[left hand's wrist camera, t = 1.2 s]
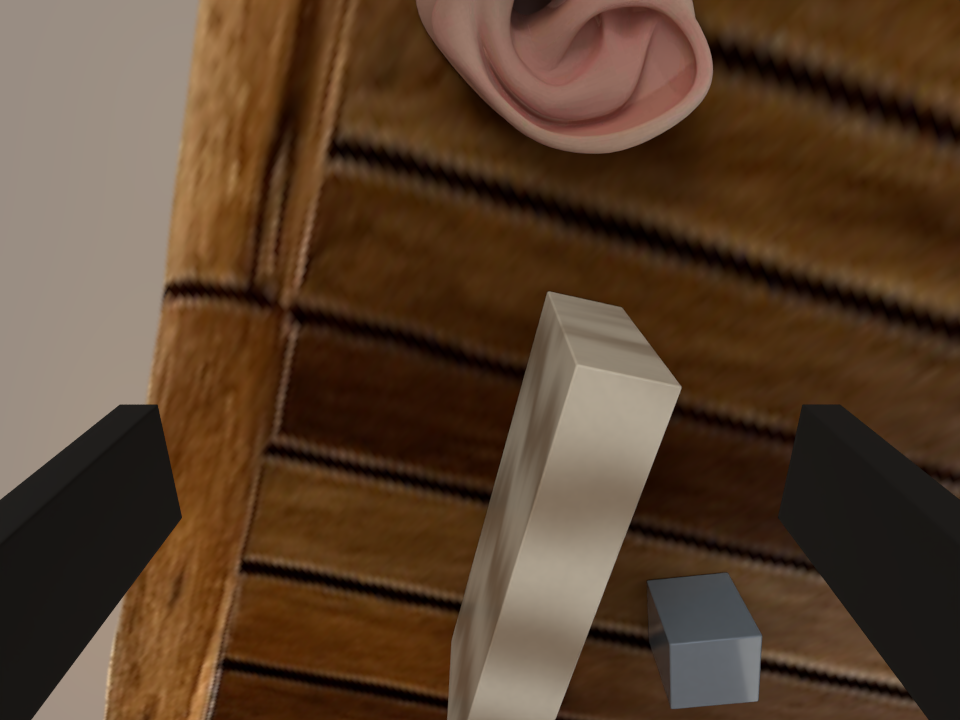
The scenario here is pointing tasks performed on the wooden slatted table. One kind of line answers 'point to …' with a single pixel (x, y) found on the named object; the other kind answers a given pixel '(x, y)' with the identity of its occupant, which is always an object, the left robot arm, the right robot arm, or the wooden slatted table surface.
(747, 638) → the slate cube
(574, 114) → the anatomical model
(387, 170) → the wooden slatted table surface
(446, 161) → the wooden slatted table surface
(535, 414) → the ash block
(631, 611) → the wooden slatted table surface
